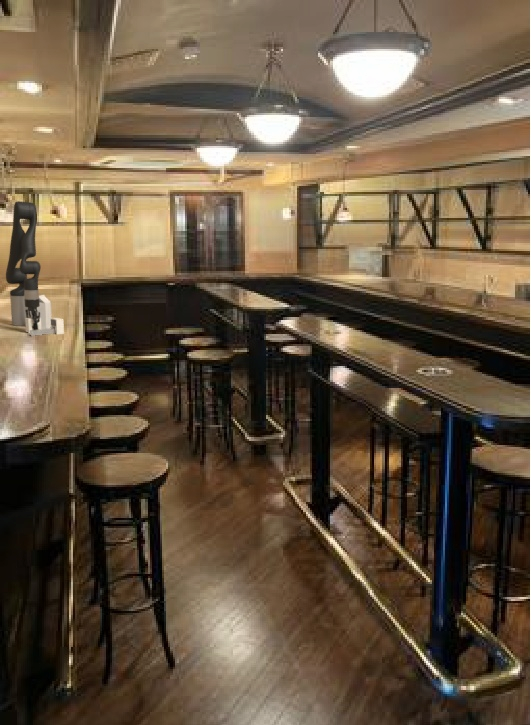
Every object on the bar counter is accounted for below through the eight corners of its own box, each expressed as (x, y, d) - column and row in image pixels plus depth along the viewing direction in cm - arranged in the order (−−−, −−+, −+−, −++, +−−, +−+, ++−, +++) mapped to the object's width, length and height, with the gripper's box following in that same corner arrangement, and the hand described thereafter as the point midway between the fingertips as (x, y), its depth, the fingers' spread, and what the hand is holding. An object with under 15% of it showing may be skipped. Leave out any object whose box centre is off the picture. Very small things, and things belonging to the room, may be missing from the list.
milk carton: (52, 327, 358) (50, 294, 354) (46, 329, 351) (44, 296, 347) (40, 327, 358) (38, 294, 354) (34, 329, 351) (32, 295, 347)
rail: (29, 335, 330) (29, 330, 330) (60, 332, 342) (59, 327, 341) (31, 336, 329) (31, 330, 328) (62, 333, 340) (61, 327, 340)
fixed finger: (50, 332, 341) (49, 318, 339) (58, 332, 344) (57, 317, 342) (56, 334, 336) (55, 319, 334) (64, 333, 339) (63, 319, 337)
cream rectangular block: (29, 333, 337) (28, 318, 335) (25, 332, 340) (24, 317, 338) (41, 332, 342) (40, 317, 340) (38, 331, 345) (37, 316, 343)
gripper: (19, 297, 339) (21, 328, 343) (30, 299, 329) (32, 331, 333) (33, 296, 344) (34, 326, 348) (44, 299, 334) (45, 330, 338)
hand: (33, 329), depth 340 cm, fingers closed on cream rectangular block, 4 cm apart
